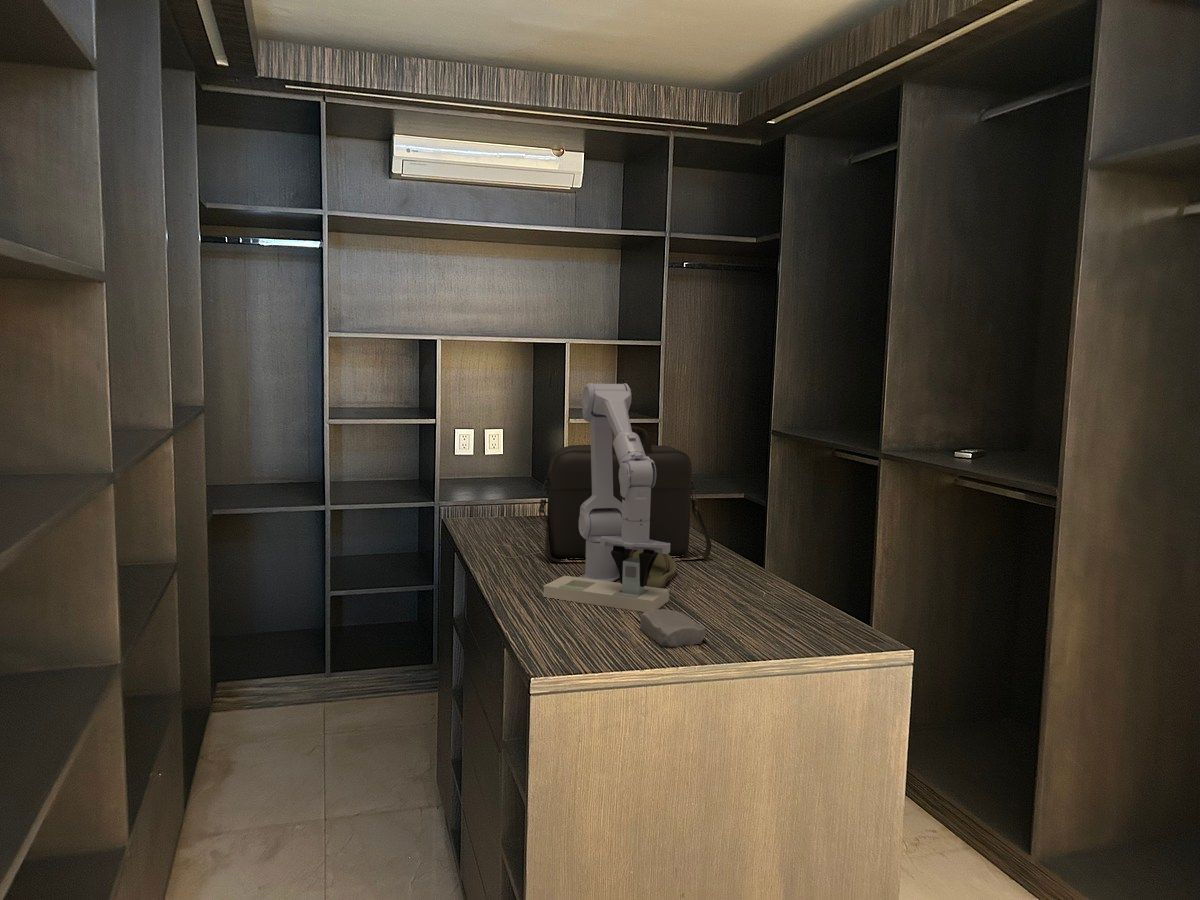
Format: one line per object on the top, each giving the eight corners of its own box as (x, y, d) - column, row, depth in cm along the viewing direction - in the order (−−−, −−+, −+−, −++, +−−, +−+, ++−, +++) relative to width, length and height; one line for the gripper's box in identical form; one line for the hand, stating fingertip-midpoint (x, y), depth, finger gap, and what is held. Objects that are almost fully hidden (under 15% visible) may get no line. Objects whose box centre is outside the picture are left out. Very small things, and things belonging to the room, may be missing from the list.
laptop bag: (696, 550, 244) (701, 424, 241) (712, 561, 232) (717, 428, 228) (533, 553, 235) (536, 422, 232) (540, 564, 223) (543, 427, 220)
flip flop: (632, 564, 227) (633, 530, 226) (680, 568, 225) (682, 533, 224) (608, 594, 198) (609, 555, 198) (664, 599, 196) (665, 559, 195)
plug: (628, 600, 193) (629, 557, 192) (644, 602, 192) (645, 559, 191) (620, 604, 190) (621, 561, 189) (637, 607, 188) (638, 563, 187)
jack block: (564, 586, 203) (564, 574, 202) (668, 601, 193) (669, 588, 193) (543, 597, 193) (543, 584, 193) (652, 613, 184) (652, 599, 184)
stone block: (680, 635, 177) (633, 629, 173) (686, 610, 177) (639, 604, 173) (710, 657, 166) (660, 651, 162) (716, 631, 166) (667, 624, 162)
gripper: (595, 518, 188) (593, 584, 190) (663, 525, 183) (660, 593, 184) (608, 513, 195) (606, 576, 196) (674, 520, 189) (672, 585, 191)
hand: (633, 584), depth 191 cm, fingers closed on plug, 4 cm apart
